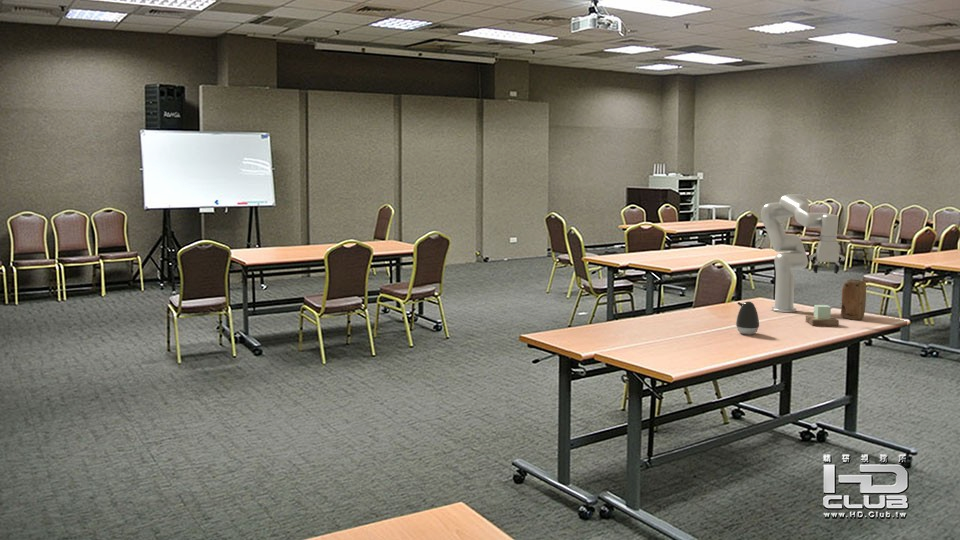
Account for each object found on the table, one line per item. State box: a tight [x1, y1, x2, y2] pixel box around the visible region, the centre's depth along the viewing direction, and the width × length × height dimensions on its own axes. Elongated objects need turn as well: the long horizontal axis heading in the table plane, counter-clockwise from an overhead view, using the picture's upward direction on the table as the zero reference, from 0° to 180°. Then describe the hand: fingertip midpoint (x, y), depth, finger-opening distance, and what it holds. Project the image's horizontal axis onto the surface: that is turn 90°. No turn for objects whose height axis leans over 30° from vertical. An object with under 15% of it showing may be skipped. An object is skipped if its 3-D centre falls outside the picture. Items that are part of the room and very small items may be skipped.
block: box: [840, 279, 867, 321], centre depth 406 cm, size 11×8×20 cm
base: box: [805, 315, 840, 328], centre depth 393 cm, size 12×12×3 cm
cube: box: [813, 304, 832, 319], centre depth 393 cm, size 6×6×6 cm
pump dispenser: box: [735, 301, 760, 336], centre depth 370 cm, size 10×10×15 cm
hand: (825, 272), depth 399 cm, fingers open, 9 cm apart
